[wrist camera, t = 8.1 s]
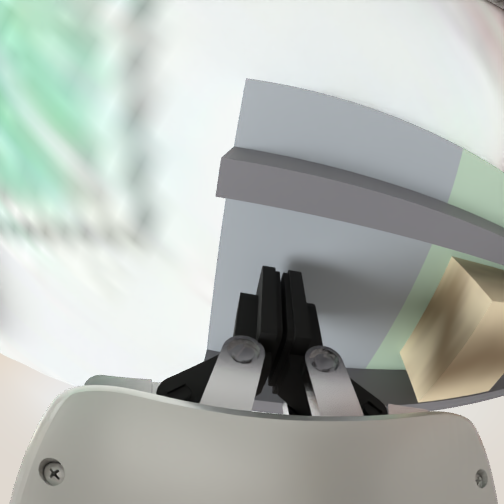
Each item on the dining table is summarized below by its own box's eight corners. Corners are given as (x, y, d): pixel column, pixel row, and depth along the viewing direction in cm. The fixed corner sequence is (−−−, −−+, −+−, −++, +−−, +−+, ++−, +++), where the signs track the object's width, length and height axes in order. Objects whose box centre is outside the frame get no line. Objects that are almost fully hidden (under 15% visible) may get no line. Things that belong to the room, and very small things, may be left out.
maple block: (451, 256, 12) (492, 300, 8) (515, 273, 12) (548, 308, 8) (399, 352, 15) (418, 402, 12) (467, 352, 15) (488, 390, 12)
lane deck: (252, 88, 13) (237, 64, 6) (553, 215, 13) (599, 250, 7) (212, 345, 21) (195, 422, 15) (473, 363, 22) (497, 410, 16)
